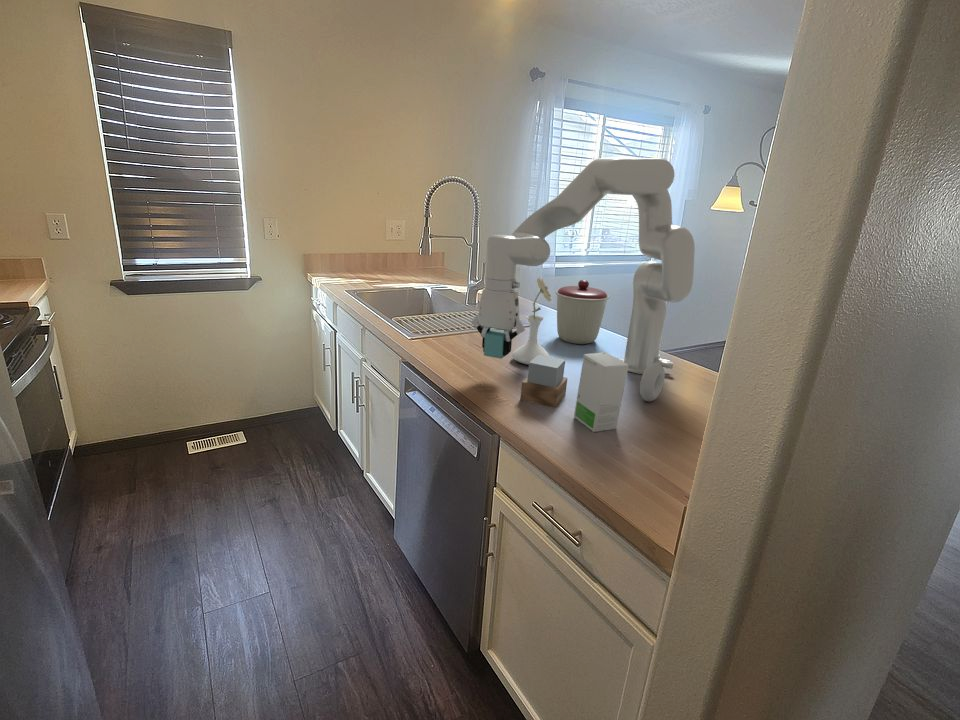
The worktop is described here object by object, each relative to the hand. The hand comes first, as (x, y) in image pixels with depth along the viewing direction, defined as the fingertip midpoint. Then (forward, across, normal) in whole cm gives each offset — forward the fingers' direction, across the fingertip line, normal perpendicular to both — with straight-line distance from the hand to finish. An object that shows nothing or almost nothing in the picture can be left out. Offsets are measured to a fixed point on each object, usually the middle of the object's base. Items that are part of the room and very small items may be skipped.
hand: (496, 351), depth 138 cm
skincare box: (+8, -30, +14) cm, 34 cm away
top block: (+3, -16, +6) cm, 17 cm away
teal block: (+1, 0, 0) cm, 1 cm away
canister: (+9, -10, -50) cm, 52 cm away
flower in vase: (+8, -4, -20) cm, 21 cm away
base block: (+8, -16, +6) cm, 18 cm away
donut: (+9, -40, -8) cm, 41 cm away
